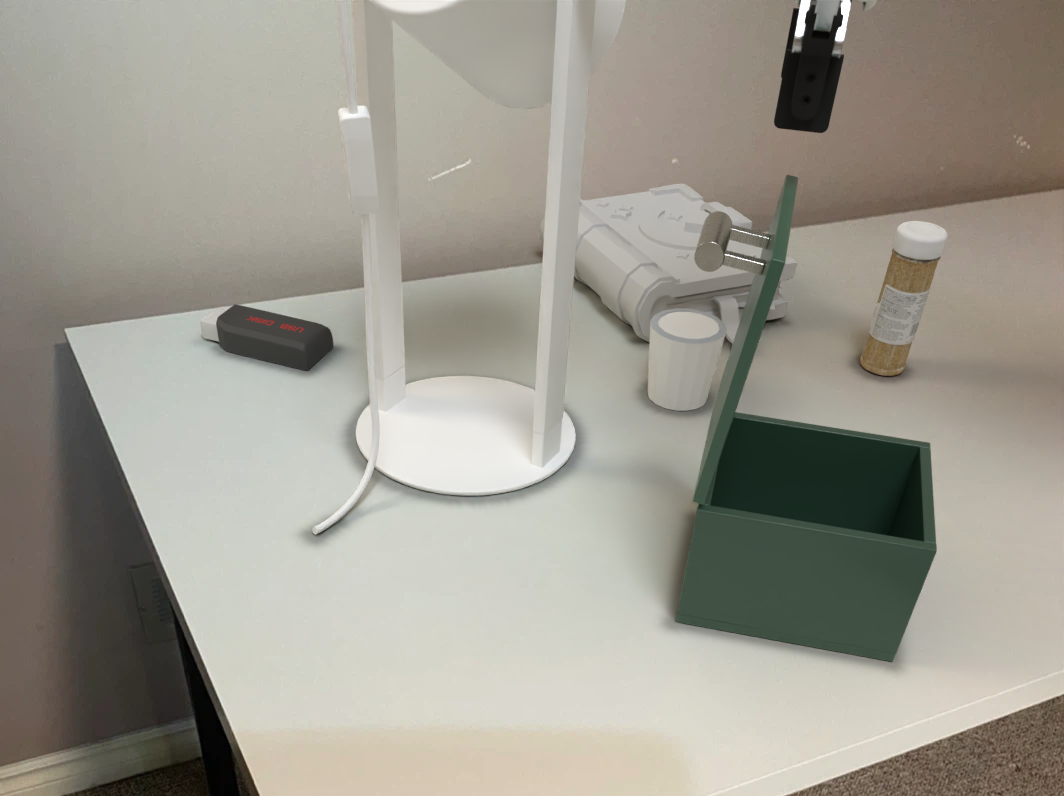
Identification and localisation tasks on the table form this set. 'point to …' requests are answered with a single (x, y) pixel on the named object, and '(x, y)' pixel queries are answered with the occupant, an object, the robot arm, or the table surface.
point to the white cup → (683, 357)
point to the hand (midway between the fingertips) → (802, 104)
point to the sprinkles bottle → (903, 296)
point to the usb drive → (268, 336)
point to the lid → (754, 315)
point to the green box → (812, 537)
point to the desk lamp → (372, 181)
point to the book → (662, 258)
